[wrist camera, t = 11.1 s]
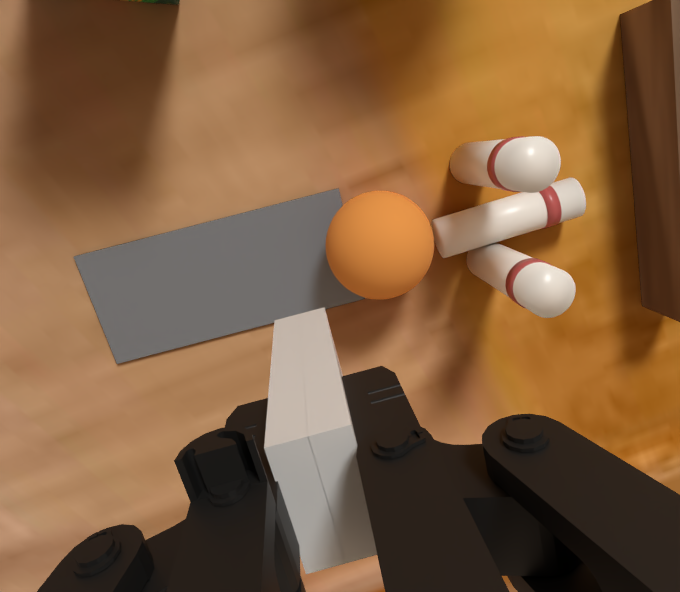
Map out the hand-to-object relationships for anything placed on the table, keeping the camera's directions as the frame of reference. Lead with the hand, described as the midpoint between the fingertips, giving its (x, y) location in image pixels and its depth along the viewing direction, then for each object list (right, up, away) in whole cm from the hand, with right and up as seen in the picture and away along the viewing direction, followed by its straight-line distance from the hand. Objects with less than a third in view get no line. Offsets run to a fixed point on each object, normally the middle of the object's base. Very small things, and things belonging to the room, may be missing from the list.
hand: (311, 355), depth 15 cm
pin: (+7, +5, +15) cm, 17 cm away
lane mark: (-6, +3, +16) cm, 17 cm away
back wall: (+20, +10, +16) cm, 28 cm away
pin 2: (+10, +4, +17) cm, 20 cm away
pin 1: (+9, +10, +15) cm, 20 cm away
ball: (+3, +5, +13) cm, 14 cm away
